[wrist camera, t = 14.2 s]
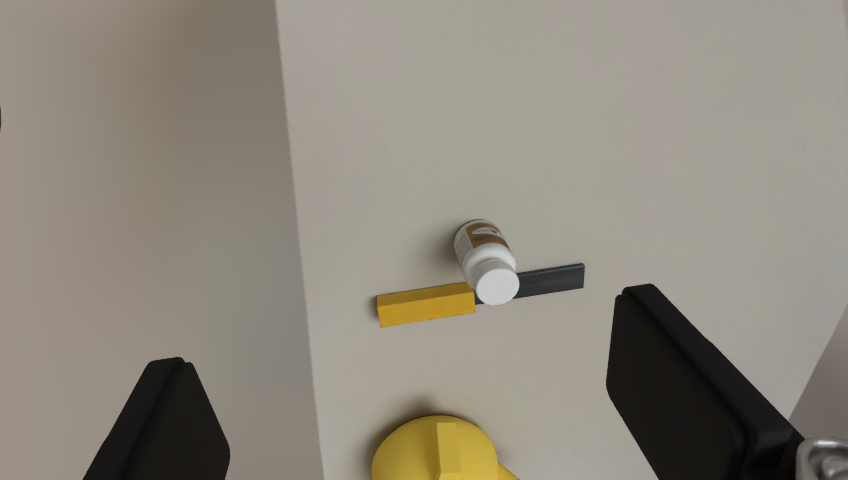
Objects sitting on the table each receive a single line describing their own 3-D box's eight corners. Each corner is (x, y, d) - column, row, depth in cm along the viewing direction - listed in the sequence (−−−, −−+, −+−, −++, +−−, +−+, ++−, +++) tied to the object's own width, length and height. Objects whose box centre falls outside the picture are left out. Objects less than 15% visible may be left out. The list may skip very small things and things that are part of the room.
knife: (380, 316, 47) (381, 328, 45) (376, 294, 46) (376, 306, 44) (581, 285, 48) (588, 295, 46) (582, 262, 47) (590, 272, 45)
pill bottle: (508, 225, 44) (534, 270, 37) (489, 265, 46) (511, 315, 39) (463, 212, 43) (482, 257, 36) (446, 254, 44) (461, 304, 38)
